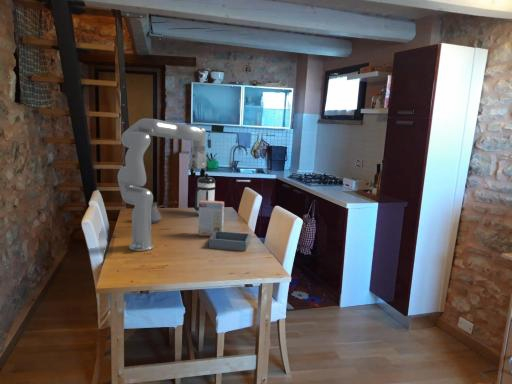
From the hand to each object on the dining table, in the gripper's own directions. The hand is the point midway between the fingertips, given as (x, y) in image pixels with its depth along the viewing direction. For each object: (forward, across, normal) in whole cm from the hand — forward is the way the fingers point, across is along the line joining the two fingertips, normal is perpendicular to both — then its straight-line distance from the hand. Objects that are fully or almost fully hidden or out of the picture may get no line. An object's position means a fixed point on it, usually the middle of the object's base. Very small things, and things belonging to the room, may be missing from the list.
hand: (197, 177), depth 236 cm
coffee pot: (+34, +4, +31) cm, 46 cm away
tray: (+33, -9, -29) cm, 45 cm away
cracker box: (+34, -1, -11) cm, 35 cm away
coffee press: (+33, +37, +18) cm, 53 cm away
